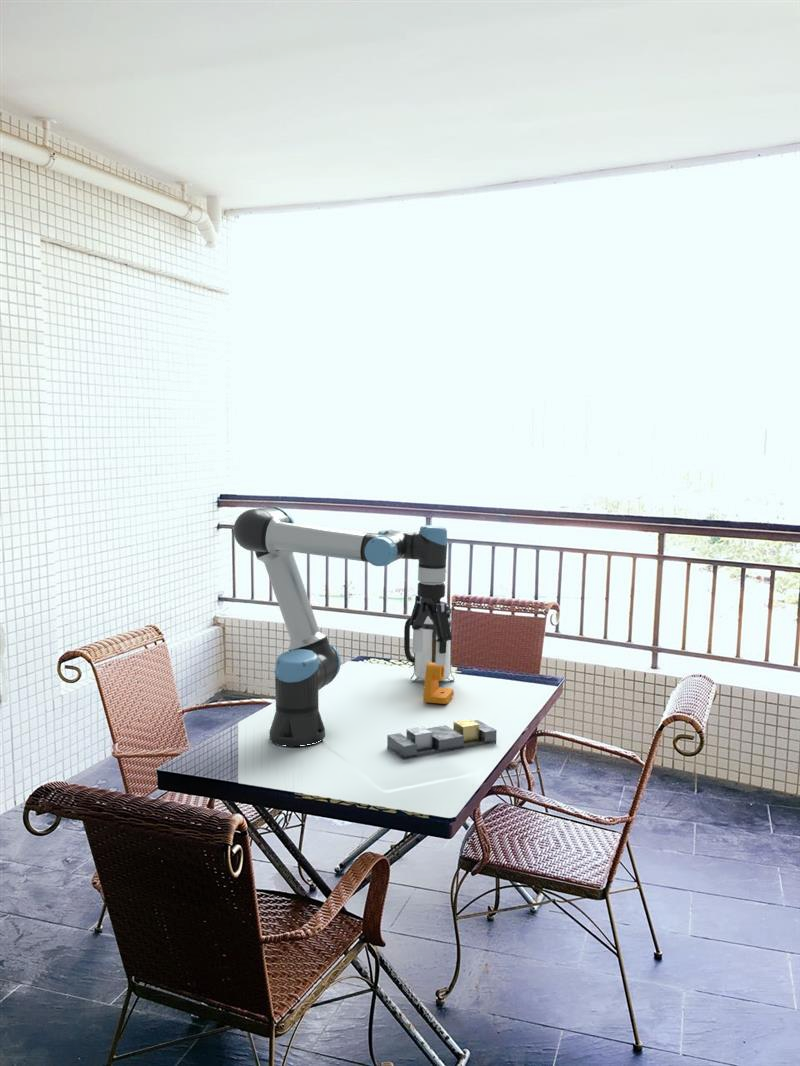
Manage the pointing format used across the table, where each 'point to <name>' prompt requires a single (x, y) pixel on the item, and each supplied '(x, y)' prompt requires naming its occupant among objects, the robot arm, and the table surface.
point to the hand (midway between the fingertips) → (428, 658)
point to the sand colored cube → (467, 730)
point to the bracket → (436, 685)
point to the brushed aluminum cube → (420, 738)
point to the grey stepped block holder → (439, 741)
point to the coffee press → (427, 648)
